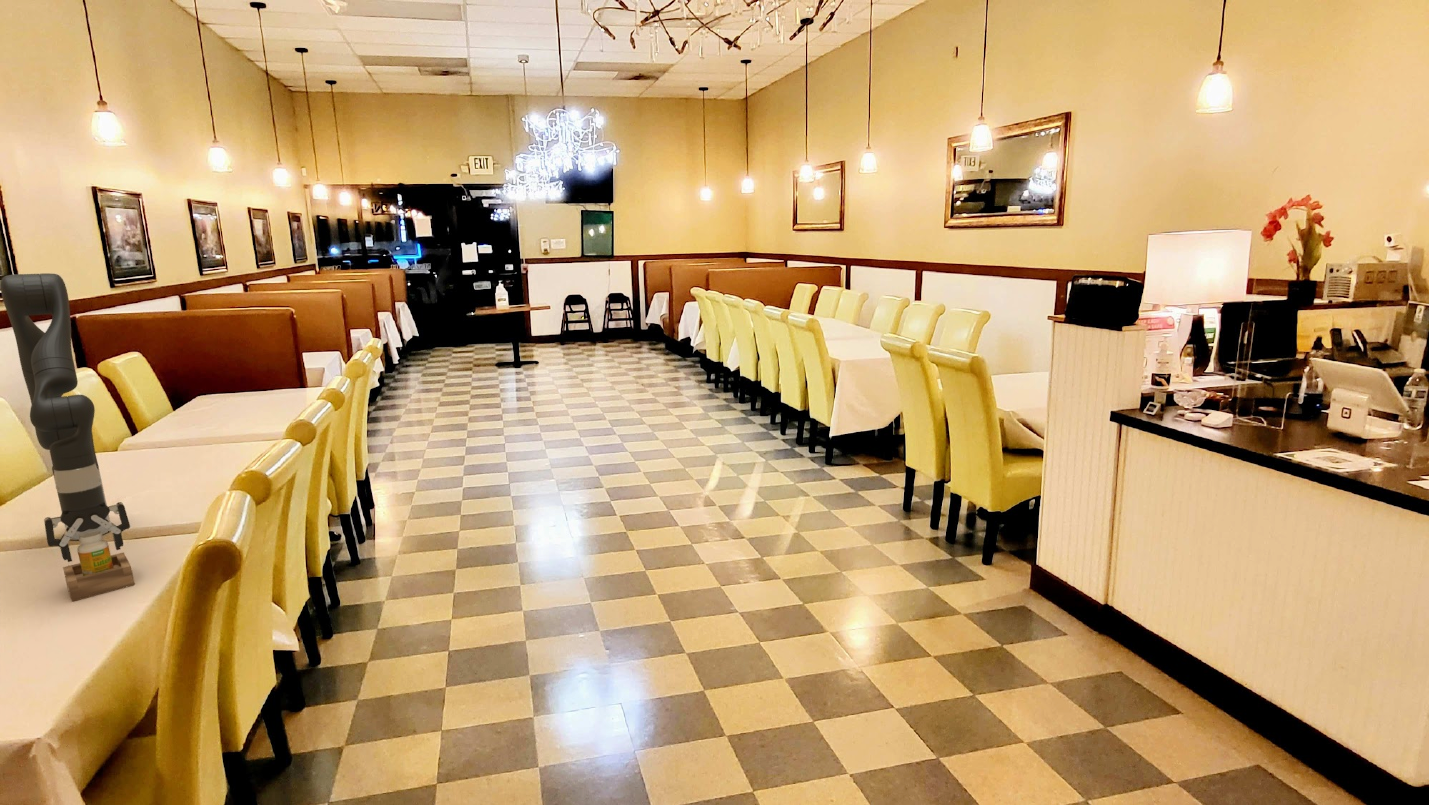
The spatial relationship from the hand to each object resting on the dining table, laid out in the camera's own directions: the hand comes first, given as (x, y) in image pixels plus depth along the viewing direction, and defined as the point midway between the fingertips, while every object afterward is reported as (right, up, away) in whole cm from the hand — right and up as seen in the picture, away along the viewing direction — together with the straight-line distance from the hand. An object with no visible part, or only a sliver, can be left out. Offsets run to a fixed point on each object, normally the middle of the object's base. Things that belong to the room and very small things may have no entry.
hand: (94, 554), depth 170 cm
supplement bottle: (0, -5, +1) cm, 5 cm away
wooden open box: (0, -7, +2) cm, 7 cm away
